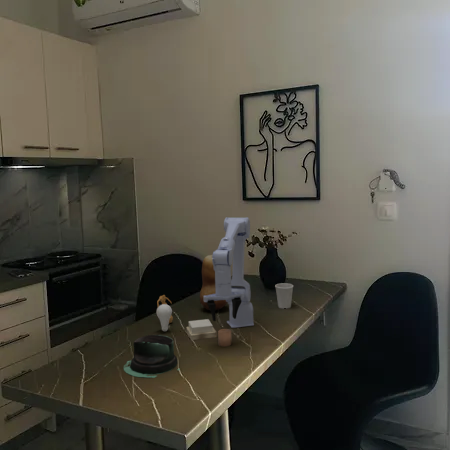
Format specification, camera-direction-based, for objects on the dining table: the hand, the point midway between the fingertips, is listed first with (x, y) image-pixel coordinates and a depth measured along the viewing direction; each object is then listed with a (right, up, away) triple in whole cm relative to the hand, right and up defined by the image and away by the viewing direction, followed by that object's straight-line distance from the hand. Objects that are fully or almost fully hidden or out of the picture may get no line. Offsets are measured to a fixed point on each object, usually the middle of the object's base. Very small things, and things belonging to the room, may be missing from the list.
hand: (224, 319), depth 172 cm
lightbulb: (-24, -8, +16) cm, 30 cm away
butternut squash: (-4, -4, +43) cm, 44 cm away
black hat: (-23, -13, -15) cm, 30 cm away
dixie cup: (+28, -3, +45) cm, 53 cm away
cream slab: (-9, -6, +12) cm, 16 cm away
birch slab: (-9, -9, +12) cm, 18 cm away
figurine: (-24, -7, +26) cm, 37 cm away
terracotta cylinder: (0, -9, +1) cm, 10 cm away
